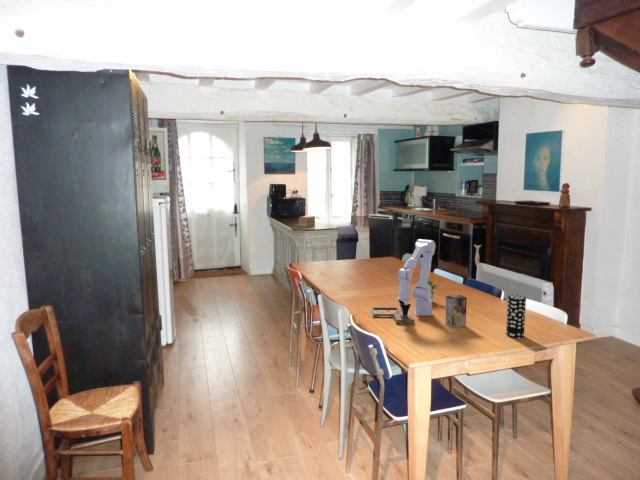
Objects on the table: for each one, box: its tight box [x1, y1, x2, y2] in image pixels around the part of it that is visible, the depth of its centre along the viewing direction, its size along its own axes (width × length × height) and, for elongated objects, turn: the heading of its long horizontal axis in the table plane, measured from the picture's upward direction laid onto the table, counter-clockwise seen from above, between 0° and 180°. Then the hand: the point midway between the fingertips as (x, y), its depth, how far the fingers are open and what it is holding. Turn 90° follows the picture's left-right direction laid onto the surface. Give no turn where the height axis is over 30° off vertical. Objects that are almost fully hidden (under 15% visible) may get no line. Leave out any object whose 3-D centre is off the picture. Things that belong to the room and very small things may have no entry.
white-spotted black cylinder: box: [505, 294, 527, 339], centre depth 233 cm, size 8×8×20 cm
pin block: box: [393, 313, 416, 325], centre depth 258 cm, size 10×10×2 cm
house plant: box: [420, 277, 440, 303], centre depth 296 cm, size 14×14×16 cm
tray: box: [370, 306, 402, 317], centre depth 272 cm, size 16×14×2 cm
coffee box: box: [445, 294, 468, 328], centre depth 250 cm, size 9×6×16 cm
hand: (404, 313), depth 258 cm, fingers open, 7 cm apart
